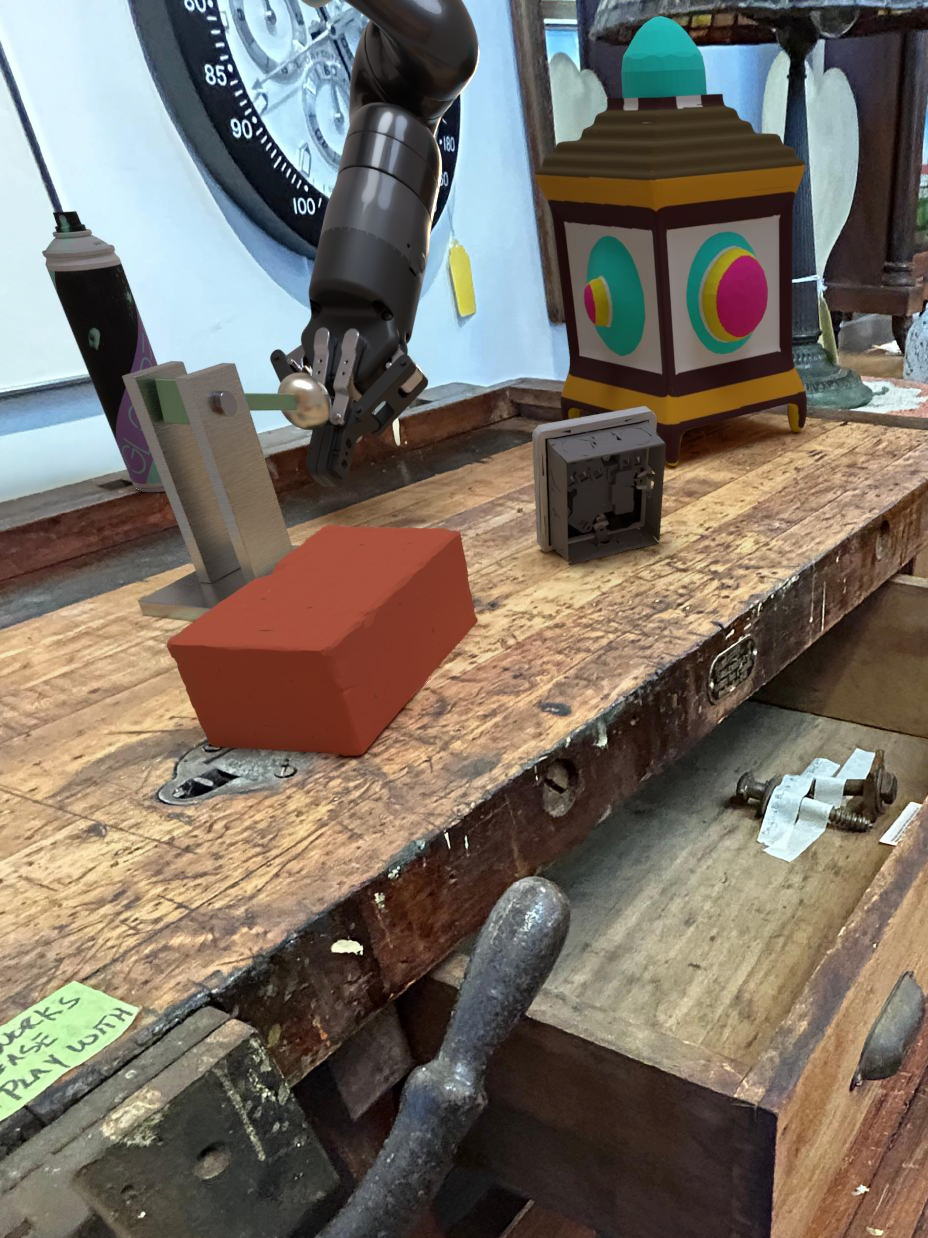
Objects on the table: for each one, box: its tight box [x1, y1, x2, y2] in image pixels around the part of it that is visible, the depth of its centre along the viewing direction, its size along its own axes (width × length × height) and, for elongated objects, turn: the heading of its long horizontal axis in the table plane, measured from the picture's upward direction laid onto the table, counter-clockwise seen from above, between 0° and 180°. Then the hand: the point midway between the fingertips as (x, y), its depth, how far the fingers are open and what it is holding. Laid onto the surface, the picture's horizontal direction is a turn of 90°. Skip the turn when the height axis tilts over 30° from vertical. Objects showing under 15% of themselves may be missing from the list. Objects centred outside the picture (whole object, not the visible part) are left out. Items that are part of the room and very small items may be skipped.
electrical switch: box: [531, 406, 666, 565], centre depth 74 cm, size 9×5×9 cm, turn 122°
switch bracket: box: [122, 360, 300, 622], centre depth 68 cm, size 12×9×14 cm
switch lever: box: [155, 373, 331, 431], centre depth 69 cm, size 14×4×4 cm, turn 162°
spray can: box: [41, 210, 166, 493], centre depth 87 cm, size 6×6×20 cm
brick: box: [166, 524, 479, 757], centre depth 59 cm, size 18×9×6 cm, turn 170°
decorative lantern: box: [534, 15, 808, 467], centre depth 91 cm, size 20×20×30 cm
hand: (324, 481), depth 77 cm, fingers closed
